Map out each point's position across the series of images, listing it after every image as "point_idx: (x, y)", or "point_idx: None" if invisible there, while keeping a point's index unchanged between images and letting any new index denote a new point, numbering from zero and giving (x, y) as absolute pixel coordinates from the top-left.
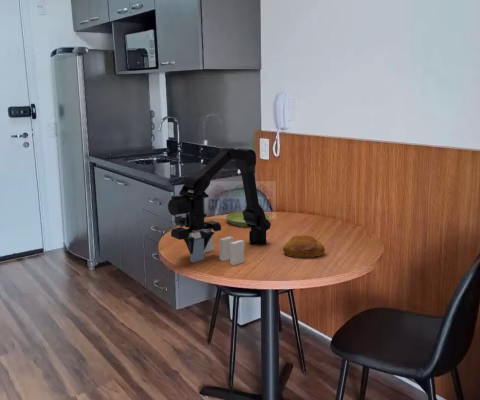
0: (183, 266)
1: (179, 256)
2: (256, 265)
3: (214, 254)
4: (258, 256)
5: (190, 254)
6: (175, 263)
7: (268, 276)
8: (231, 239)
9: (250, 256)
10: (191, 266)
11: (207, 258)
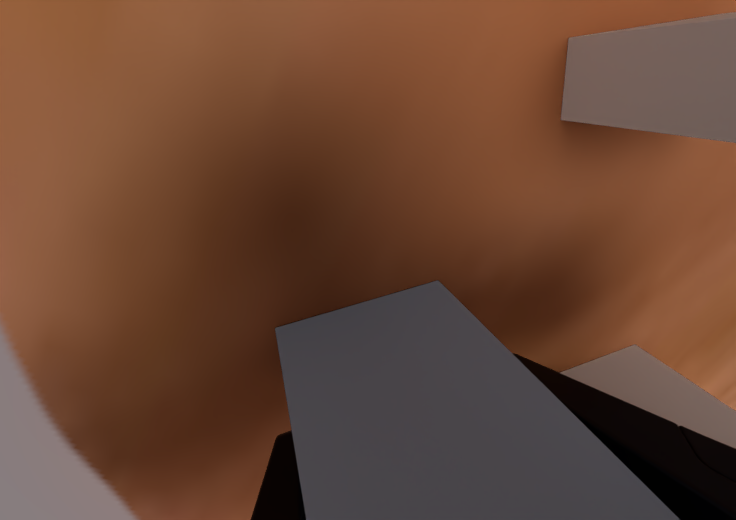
0: (125, 463)
1: (189, 45)
2: None
3: (606, 230)
4: (730, 394)
5: (289, 403)
6: (24, 346)
7: None
8: None
9: (710, 380)
10: (221, 476)
11: (481, 315)
